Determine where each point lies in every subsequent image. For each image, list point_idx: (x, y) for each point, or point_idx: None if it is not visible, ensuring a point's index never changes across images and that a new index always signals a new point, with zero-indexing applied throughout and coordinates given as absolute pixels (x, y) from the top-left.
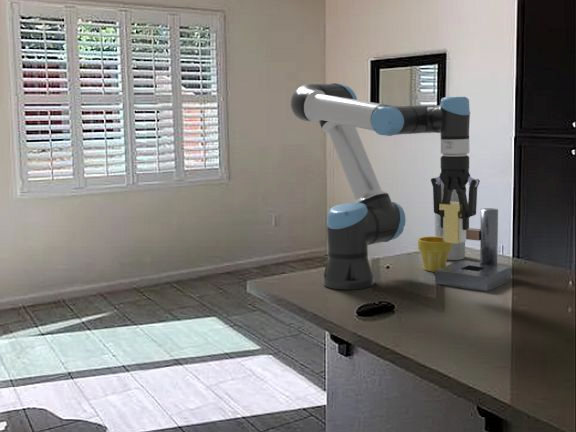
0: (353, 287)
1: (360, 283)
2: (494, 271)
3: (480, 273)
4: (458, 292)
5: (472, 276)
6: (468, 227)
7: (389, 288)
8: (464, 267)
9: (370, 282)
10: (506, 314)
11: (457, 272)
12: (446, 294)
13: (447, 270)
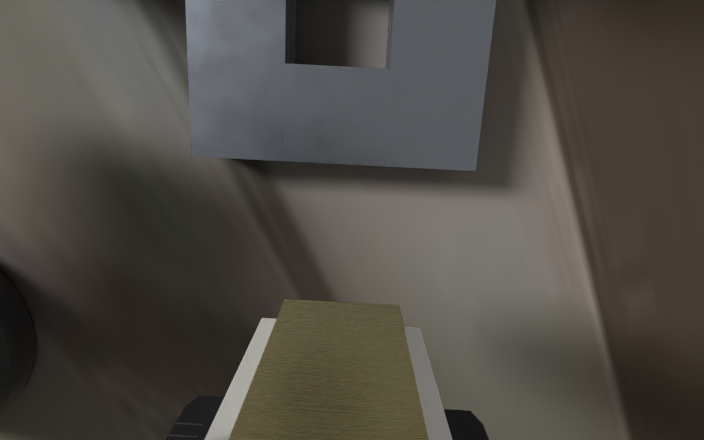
0: (10, 399)
1: (13, 389)
2: (467, 24)
3: (418, 108)
4: (362, 232)
5: (397, 166)
6: (481, 435)
7: (107, 310)
8: (285, 4)
9: (22, 337)
10: (604, 399)
11: (309, 146)
12: (334, 281)
13: (246, 130)
